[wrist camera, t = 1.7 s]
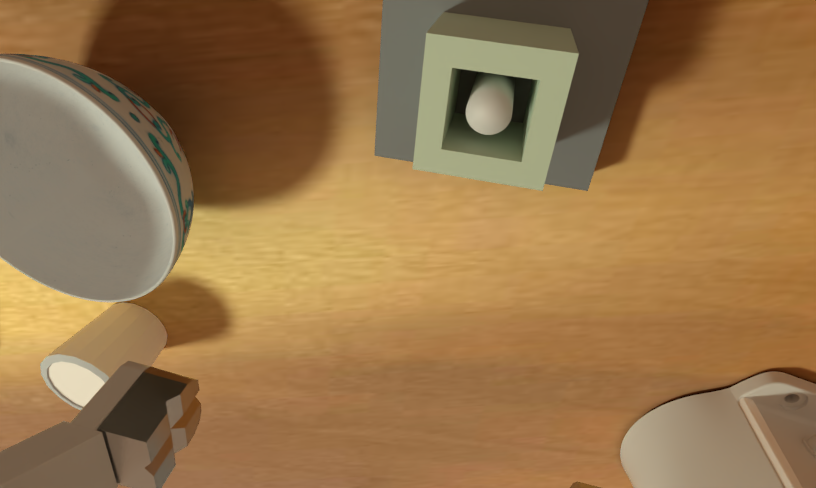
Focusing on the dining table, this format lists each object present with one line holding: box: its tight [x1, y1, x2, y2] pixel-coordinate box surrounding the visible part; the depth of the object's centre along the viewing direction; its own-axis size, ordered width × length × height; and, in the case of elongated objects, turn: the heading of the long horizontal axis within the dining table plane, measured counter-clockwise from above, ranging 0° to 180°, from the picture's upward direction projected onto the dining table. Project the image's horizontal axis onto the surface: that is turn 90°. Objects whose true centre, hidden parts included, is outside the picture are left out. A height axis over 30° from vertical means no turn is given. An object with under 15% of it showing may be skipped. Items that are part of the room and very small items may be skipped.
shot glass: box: [40, 302, 168, 410], centre depth 42 cm, size 7×7×7 cm
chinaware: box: [0, 54, 194, 302], centre depth 32 cm, size 15×15×8 cm
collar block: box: [413, 12, 579, 191], centre depth 24 cm, size 6×6×5 cm
